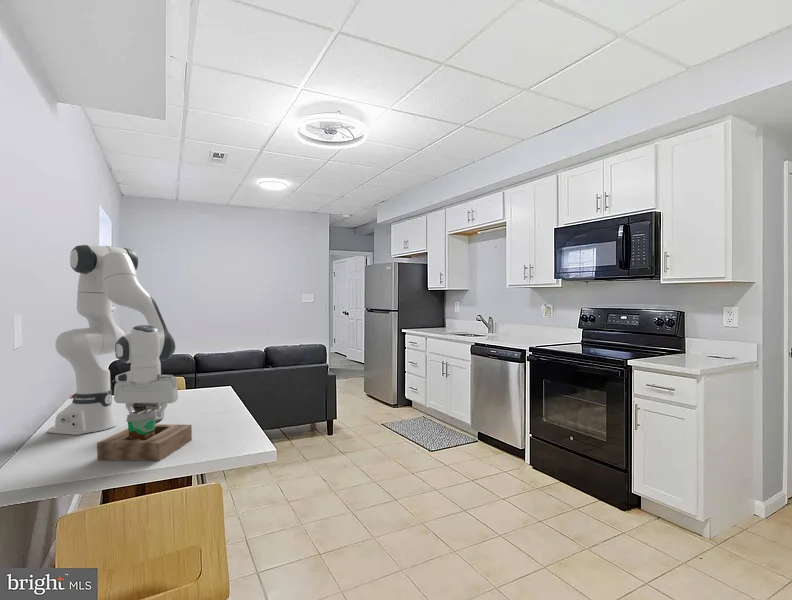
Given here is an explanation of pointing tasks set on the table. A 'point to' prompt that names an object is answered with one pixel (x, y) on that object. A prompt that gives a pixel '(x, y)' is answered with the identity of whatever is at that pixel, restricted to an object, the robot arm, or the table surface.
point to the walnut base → (144, 444)
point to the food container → (142, 424)
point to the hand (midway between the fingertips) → (146, 416)
